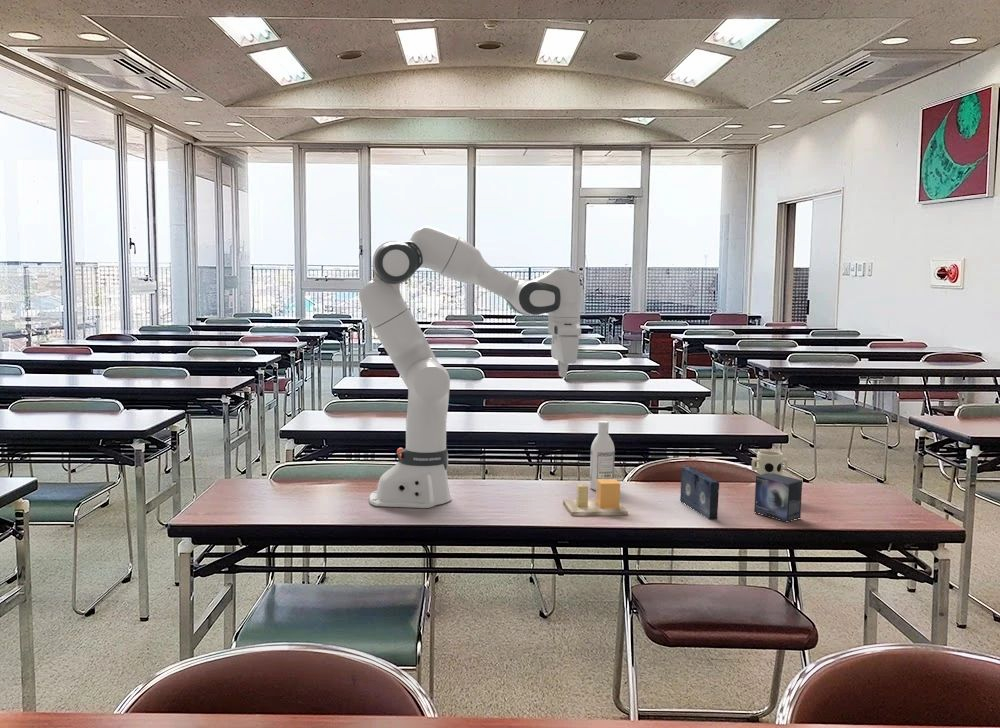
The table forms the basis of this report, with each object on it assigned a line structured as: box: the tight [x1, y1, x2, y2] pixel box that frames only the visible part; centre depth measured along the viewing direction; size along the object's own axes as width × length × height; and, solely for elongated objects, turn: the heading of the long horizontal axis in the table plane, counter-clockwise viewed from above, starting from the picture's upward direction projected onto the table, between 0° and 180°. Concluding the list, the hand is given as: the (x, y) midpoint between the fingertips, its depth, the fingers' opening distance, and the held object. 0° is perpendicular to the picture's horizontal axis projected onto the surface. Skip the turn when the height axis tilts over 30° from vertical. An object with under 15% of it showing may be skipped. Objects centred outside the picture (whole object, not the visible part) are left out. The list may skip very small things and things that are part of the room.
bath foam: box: [589, 420, 616, 491], centre depth 250 cm, size 7×7×20 cm
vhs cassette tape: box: [679, 466, 720, 520], centre depth 229 cm, size 18×3×10 cm, turn 11°
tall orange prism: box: [595, 478, 621, 508], centre depth 228 cm, size 5×5×7 cm
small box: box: [753, 473, 803, 522], centre depth 224 cm, size 11×6×10 cm, turn 36°
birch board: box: [562, 499, 629, 517], centre depth 228 cm, size 15×12×1 cm
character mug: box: [751, 449, 789, 475], centre depth 243 cm, size 11×7×13 cm, turn 99°
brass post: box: [575, 483, 589, 507], centre depth 227 cm, size 3×3×6 cm
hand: (562, 376), depth 238 cm, fingers closed
